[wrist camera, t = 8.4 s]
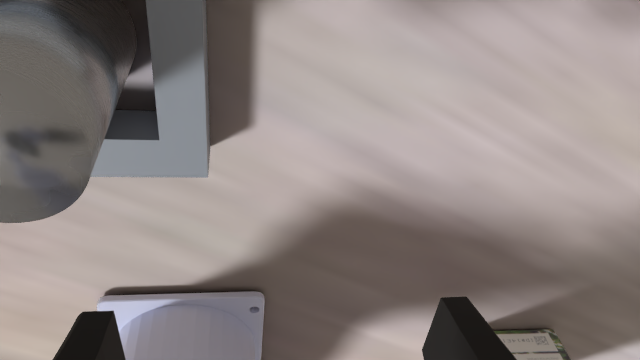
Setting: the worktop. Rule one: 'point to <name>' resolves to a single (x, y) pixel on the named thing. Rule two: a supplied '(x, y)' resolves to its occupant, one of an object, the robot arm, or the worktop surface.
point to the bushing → (57, 98)
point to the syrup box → (533, 344)
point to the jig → (166, 102)
